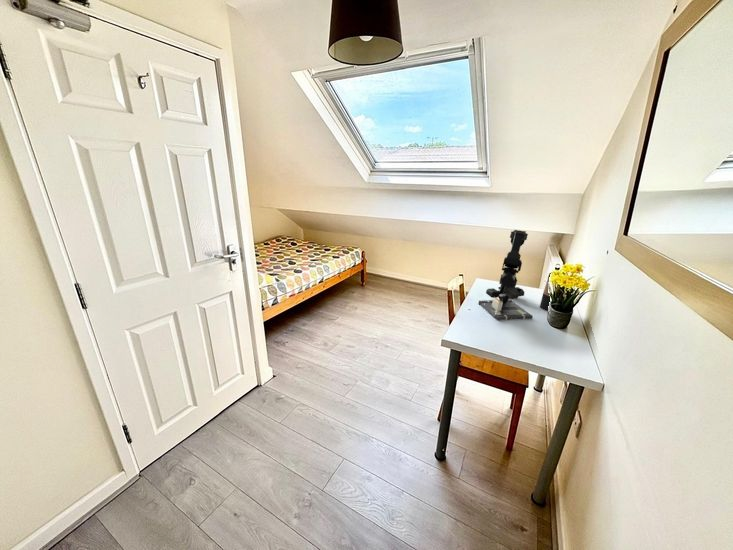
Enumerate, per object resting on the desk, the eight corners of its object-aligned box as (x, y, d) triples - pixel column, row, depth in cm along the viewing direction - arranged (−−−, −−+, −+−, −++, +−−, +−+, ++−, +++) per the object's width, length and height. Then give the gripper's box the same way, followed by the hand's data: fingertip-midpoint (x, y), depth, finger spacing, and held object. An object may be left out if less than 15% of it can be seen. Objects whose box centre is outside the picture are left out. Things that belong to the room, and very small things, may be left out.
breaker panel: (480, 305, 164) (481, 302, 164) (512, 304, 168) (513, 301, 167) (494, 318, 151) (495, 315, 151) (529, 316, 155) (530, 313, 154)
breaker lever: (491, 306, 160) (493, 297, 158) (495, 306, 161) (497, 297, 159) (496, 310, 156) (498, 302, 154) (500, 310, 156) (503, 301, 154)
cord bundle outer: (495, 318, 151) (495, 315, 151) (529, 316, 155) (530, 313, 154) (497, 320, 149) (498, 317, 149) (532, 318, 153) (533, 315, 152)
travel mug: (550, 305, 168) (561, 273, 161) (557, 312, 161) (568, 278, 154) (536, 304, 169) (546, 271, 162) (542, 311, 162) (553, 277, 155)
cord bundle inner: (478, 303, 167) (478, 300, 166) (510, 302, 170) (510, 299, 169) (480, 305, 165) (480, 301, 164) (512, 304, 168) (513, 300, 167)
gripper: (500, 286, 144) (494, 315, 149) (534, 285, 147) (527, 313, 152) (488, 278, 154) (482, 305, 159) (520, 276, 157) (514, 303, 163)
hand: (502, 306), depth 158 cm, fingers closed
